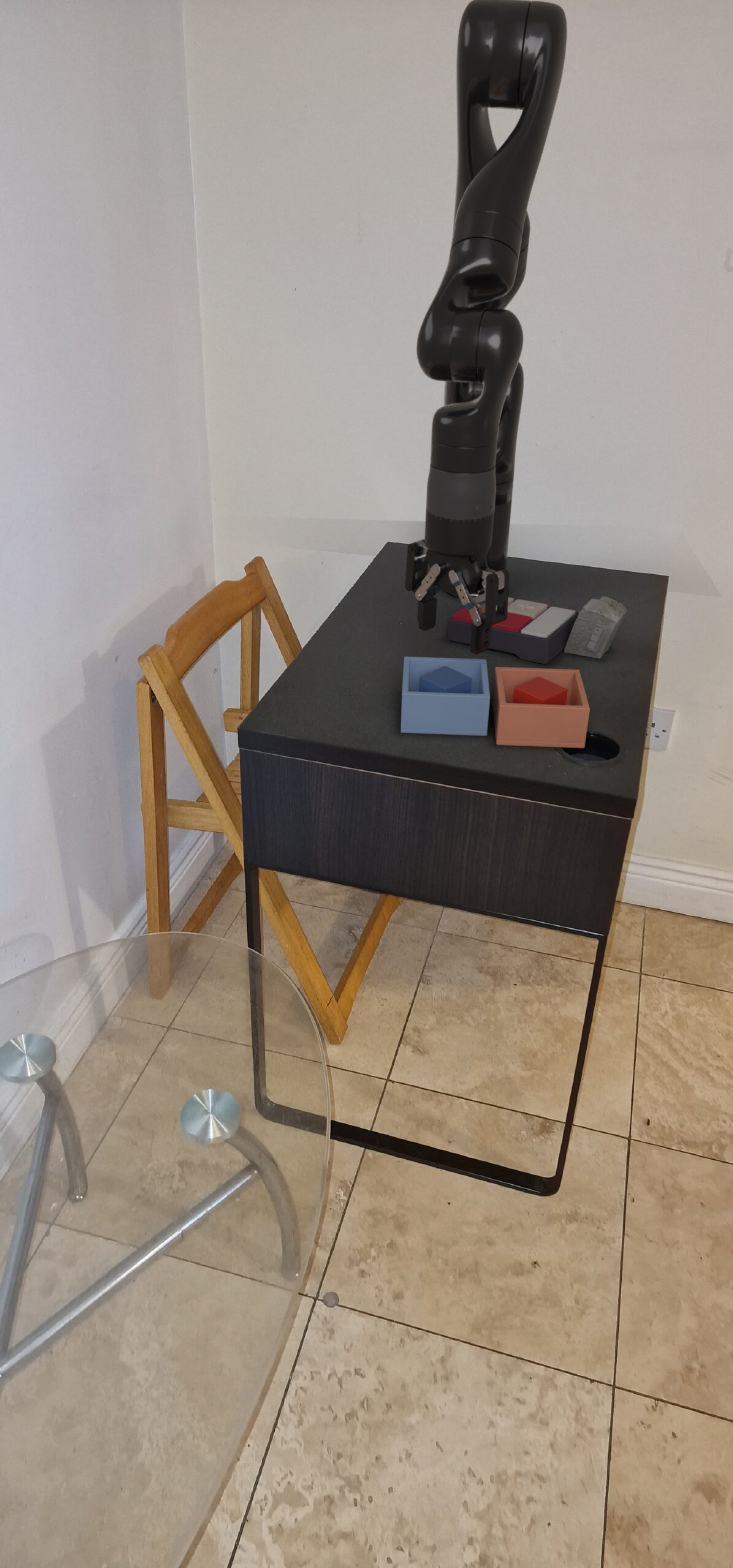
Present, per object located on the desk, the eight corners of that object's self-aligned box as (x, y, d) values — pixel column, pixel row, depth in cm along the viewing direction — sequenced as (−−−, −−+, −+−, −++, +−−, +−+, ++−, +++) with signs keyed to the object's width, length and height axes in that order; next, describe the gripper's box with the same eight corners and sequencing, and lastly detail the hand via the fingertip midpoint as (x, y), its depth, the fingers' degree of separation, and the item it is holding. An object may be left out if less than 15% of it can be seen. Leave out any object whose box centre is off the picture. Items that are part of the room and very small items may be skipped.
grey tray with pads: (483, 589, 147) (581, 607, 140) (482, 618, 149) (578, 636, 142) (446, 614, 139) (548, 634, 132) (446, 644, 141) (546, 665, 134)
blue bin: (402, 693, 127) (404, 656, 124) (483, 696, 127) (486, 659, 124) (400, 733, 119) (401, 693, 116) (486, 736, 118) (490, 696, 116)
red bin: (492, 704, 125) (495, 666, 122) (574, 707, 125) (579, 669, 122) (496, 745, 117) (499, 705, 114) (584, 748, 116) (590, 708, 113)
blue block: (417, 709, 122) (419, 676, 120) (443, 698, 125) (445, 665, 123) (444, 722, 120) (445, 689, 117) (469, 711, 122) (472, 677, 120)
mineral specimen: (556, 658, 135) (565, 597, 132) (573, 647, 142) (581, 589, 139) (612, 667, 132) (622, 605, 129) (625, 655, 139) (635, 596, 137)
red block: (510, 720, 120) (513, 687, 118) (534, 709, 123) (538, 676, 120) (539, 734, 117) (543, 700, 115) (563, 722, 120) (568, 689, 118)
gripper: (532, 514, 110) (518, 651, 119) (438, 483, 119) (432, 612, 128) (484, 530, 106) (474, 670, 115) (391, 496, 114) (388, 629, 123)
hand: (452, 639), depth 121 cm, fingers open, 8 cm apart
